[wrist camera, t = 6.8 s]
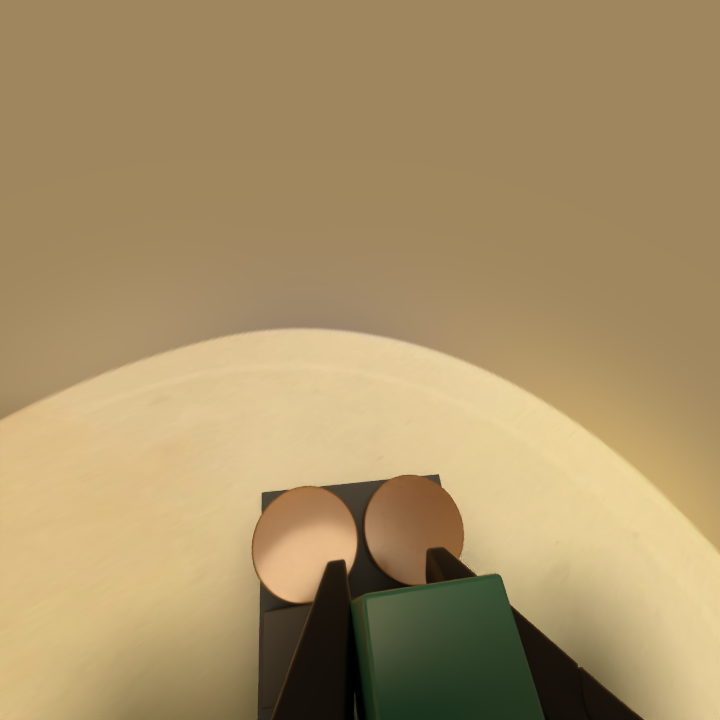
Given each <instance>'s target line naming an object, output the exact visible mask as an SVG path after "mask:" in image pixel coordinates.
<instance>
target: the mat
mask: <svg viewBox="0 0 720 720" xmlns="http://www.w3.org/2000/svg"><path fill="white" fill-rule="evenodd" d="M422 477H425V478H427V479H430V480H432V481H434V482H435V483H437V484H438V485H440V486H441V483H440V478H439V475H438V474H437V475H428V476H422ZM389 480H390V479H389ZM387 481H388V480H379V481H370V482H360V483H350V484H341V485H331V486H321V487H320V488H324V489H326V490H329V491H331V492H332V493H334V494H336V495H337V496H338V497H340V498H341V499H342V500H343V501H344V502H345V504H346V505H347V506H348V507H349V509H350V511H351V513H352V514H353V517H354V519H355V522H356V526H357V530H358V552H357V557H356V561H355V564H354V566H353V569H352V571H351V573H350V575H349V576H348V582H349V589H350V595H351V598H352V597H358V596H362V595H364V594H366V593H372V592H379V591H385V590H392V589H398V588H405V587H411V586H407V585H403V584H400V583H397V582H394V581H392V580H391V579H389V578H387V577H386V576H384V575H383V574H382V573H381V572H380V571H379V570H378V569H377V568H376V567H375V566H374V564H373V563H372V561H371V560H370V558H369V556H368V554H367V552H366V549H365V546H364V543H363V538H362V519H363V514H364V510H365V508H366V505H367V503H368V502H369V500H370V498H371V497H372V495H373V494H374V493H375V491H376V490H377V489H378V488H379V487H380V486H381V485H382V484H384V483H385V482H387ZM286 491H289V490H282V491H273V492H263V493H262V513H263V512H264V510H265V509H266V508H267V506H268V505H269V504H270V503H271V502H272V501H273V500H274V499H276V498H277V497H278V496H279V495H281V494H283V493H284V492H286ZM305 605H306V604H305ZM294 606H300V605H298V604H291V603H287V602H284V601H282V600H280V599H278V598H276V597H275V596H273V595H272V594H271V593H270V592H269V591H268V590H267V589H266V588H265V587H264V586H263V585H262V583H261V581H260V629H259V684H258V720H271V717H272V715H273V712H274V709H275V708H270V709H265V710H263V709H261V679H262V629H263V612H264V611H268V610H274V609H281V608H287V607H294ZM354 720H356V718H355V715H354Z"/></svg>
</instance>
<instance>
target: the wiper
mask: <svg viewBox="0 0 720 720" xmlns="http://www.w3.org/2000/svg"><path fill="white" fill-rule="evenodd" d="M311 606H312V604H306V605H300V606H294V607H287V608H281V609H274V610H268V611H264V612H263V629H262V679H261V709H263V710H265V709H270V708H275V706H276V703H277V701H278V698H279V695H280V692H281V690H282V687H283V684H284V681H285V678H286V676H287V673H288V670H289V667H290V665H291V662H292V659H293V656H294V653H295V651H296V648H297V645H298V642H299V640H300V637H301V634H302V631H303V628H304V626H305V623H306V620H307V617H308V615H309V612H310V609H311ZM350 606H351V613H352V630H353V661H354V715H355V718H356V720H545V718H544V714H543V711H542V708H541V705H540V701H539V698H538V695H537V691H536V688H535V685H534V682H533V678H532V675H531V672H530V669H529V665H528V662H527V659H526V656H525V652H524V649H523V646H522V643H521V639H520V636H519V633H518V630H517V626H516V623H515V620H514V617H513V613H512V610H511V607H510V604H509V600H508V597H507V594H506V591H505V587H504V584H503V581H502V578H501V576H500V575H499V574H496V573H495V574H489V575H482V576H476V577H470V578H463V579H457V580H450V581H444V582H437V583H431V584H424V585H418V586H411V587H405V588H398V589H392V590H385V591H379V592H372V593H366V594H364V595H362V596H358V597H352V598H351V604H350Z"/></svg>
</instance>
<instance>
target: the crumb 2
mask: <svg viewBox="0 0 720 720" xmlns="http://www.w3.org/2000/svg"><path fill="white" fill-rule="evenodd" d="M362 538H363V543H364V546H365V549H366V552H367V554H368V556H369V558H370V560H371V561H372V563H373V564H374V566H375V567H376V568H377V569H378V570H379V571H380V572H381V573H382V574H383V575H384V576H386V577H387V578H389V579H391V580H392V581H394V582H397V583H400V584H403V585H407V586H418V585H424V584H426V578H425V568H426V551H427V549H428V548H432V547H440V546H442V547H445V548H446V549H447V550H448V551H449V552H451V553H452V554H453V555H454V556H455V557H456V558H457V559H459V558H460V555H461V552H462V548H463V541H464V530H463V523H462V518H461V515H460V512H459V510H458V508H457V506H456V504H455V502H454V501H453V499H452V498H451V496H450V495H449V494H448V493H447V492H446V491H445V490H444V489H443V488H442V487H441V486H440V485H438V484H437V483H435V482H434V481H432V480H430V479H427V478H425V477H422V476H417V475H402V476H398V477H395V478H392V479H390V480H388V481H387V482H385V483H384V484H382V485H381V486H380V487H379V488H378V489H377V490H376V491H375V493H374V494H373V495H372V497H371V498H370V500H369V502H368V503H367V505H366V508H365V510H364V514H363V519H362Z"/></svg>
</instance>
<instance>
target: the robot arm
mask: <svg viewBox="0 0 720 720" xmlns="http://www.w3.org/2000/svg"><path fill="white" fill-rule="evenodd" d="M476 576H477V575H476V574H475V573H473V572H472V571H471V570H470V569H469V568H468V567H467V566H465V565H464V564H463V563H462V562H461V561H460V560H459V559H457V558H456V557H455V556H454V555H453V554H452V553H451V552H449V551H448V550H447V549H446V548H445V547H442V546H440V547H432V548H428V549H427V551H426V568H425V578H426V584H431V583H437V582H444V581H450V580H457V579H463V578H470V577H476ZM350 604H351V595H350V589H349V582H348V575H347V568H346V562H345V560H343V559H340V560H332V561H329V562H328V563H327V565H326V567H325V570H324V573H323V576H322V578H321V581H320V584H319V587H318V590H317V592H316V595H315V598H314V601H313V603H312V606H311V609H310V612H309V615H308V617H307V620H306V623H305V626H304V628H303V631H302V634H301V637H300V640H299V642H298V645H297V648H296V651H295V653H294V656H293V659H292V662H291V665H290V667H289V670H288V673H287V676H286V678H285V681H284V684H283V687H282V690H281V692H280V695H279V698H278V701H277V703H276V706H275V709H274V712H273V715H272V717H271V720H354V661H353V630H352V613H351V606H350ZM510 607H511V610H512V613H513V617H514V620H515V623H516V626H517V630H518V633H519V636H520V639H521V643H522V646H523V649H524V652H525V656H526V659H527V662H528V665H529V669H530V672H531V675H532V678H533V682H534V685H535V688H536V691H537V695H538V698H539V701H540V705H541V708H542V711H543V714H544V718H545V720H644V719H643V718H641V717H640V716H639V715H638V714H636V713H635V712H634V711H633V710H631V709H630V708H629V707H628V706H627V705H625V704H624V703H623V702H622V701H621V700H620V699H618V698H617V697H616V696H615V695H614V694H612V693H611V692H610V691H609V690H608V689H606V688H605V687H604V686H603V685H602V684H601V683H599V682H598V681H597V680H596V679H595V678H594V677H593V676H591V675H590V674H589V673H588V672H587V671H586V670H585V669H583V668H582V667H579V668H578V664H577V663H576V662H575V661H574V660H573V659H572V658H571V657H569V656H568V655H567V654H566V653H565V652H564V651H563V650H561V649H560V648H559V647H558V646H557V645H556V644H555V643H553V642H552V641H551V640H550V639H549V638H548V637H547V636H545V635H544V634H543V633H542V632H541V631H540V630H539V629H537V628H536V627H535V626H534V625H533V624H532V623H531V622H529V621H528V620H527V619H526V618H525V617H524V616H523V615H521V614H520V613H519V612H518V611H517V610H516V609H515V608H513V607H512V606H511V605H510Z"/></svg>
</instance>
